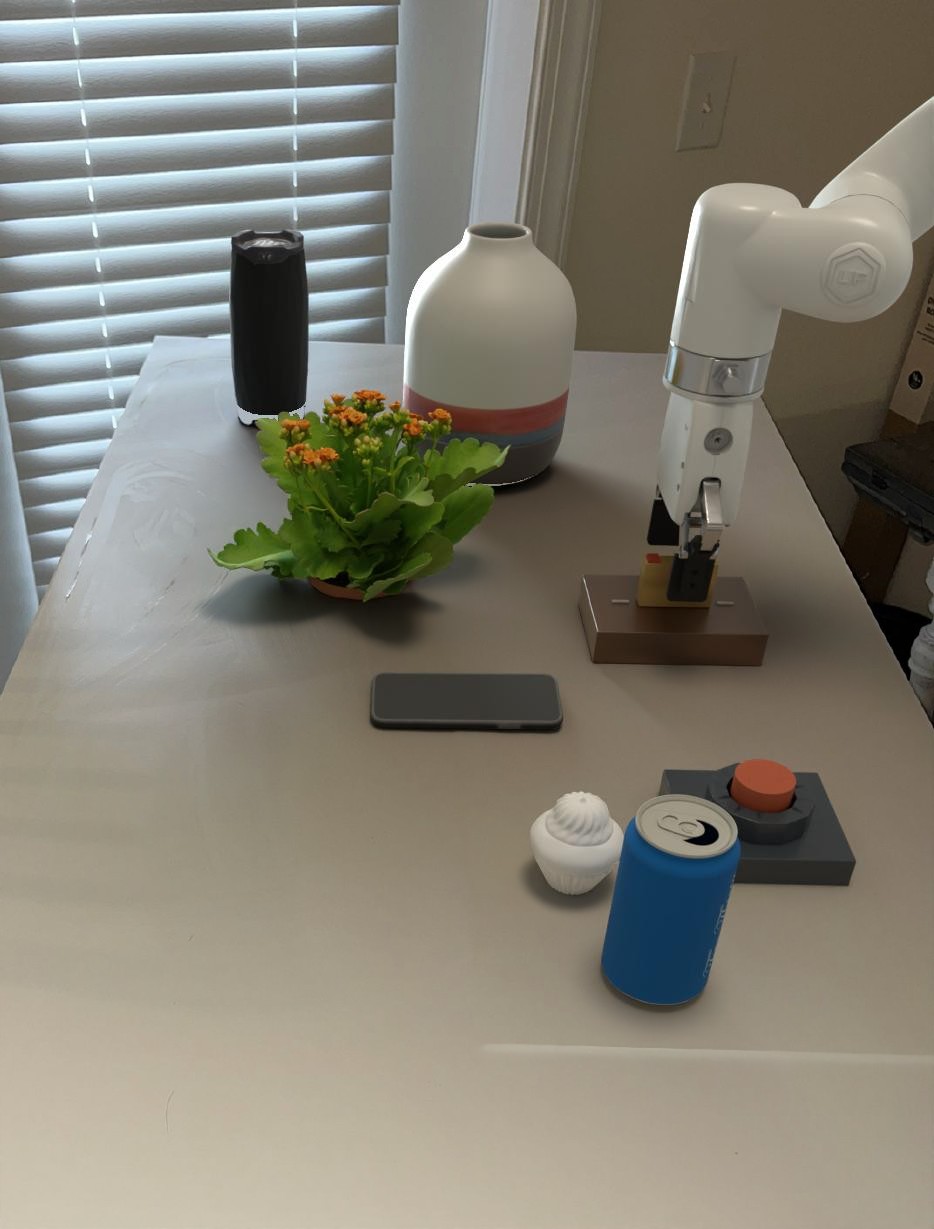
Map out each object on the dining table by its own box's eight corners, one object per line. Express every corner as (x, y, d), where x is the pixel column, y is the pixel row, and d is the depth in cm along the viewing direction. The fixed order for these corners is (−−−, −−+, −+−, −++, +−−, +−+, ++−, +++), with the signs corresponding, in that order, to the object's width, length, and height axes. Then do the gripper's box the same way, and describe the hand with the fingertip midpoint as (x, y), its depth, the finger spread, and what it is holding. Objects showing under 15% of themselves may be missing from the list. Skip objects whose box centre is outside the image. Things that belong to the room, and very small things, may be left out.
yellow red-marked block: (706, 598, 114) (715, 553, 111) (710, 607, 113) (719, 562, 110) (635, 597, 114) (643, 552, 112) (638, 606, 113) (646, 561, 110)
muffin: (515, 897, 89) (525, 814, 84) (535, 843, 93) (546, 761, 89) (608, 919, 87) (624, 835, 83) (624, 862, 91) (640, 780, 87)
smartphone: (371, 670, 109) (556, 672, 108) (371, 680, 110) (555, 681, 109) (370, 721, 104) (565, 723, 103) (370, 731, 104) (564, 733, 103)
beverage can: (684, 1029, 79) (723, 875, 72) (583, 987, 82) (610, 835, 75) (720, 964, 84) (760, 812, 76) (622, 927, 86) (652, 777, 79)
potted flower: (281, 503, 136) (279, 327, 125) (513, 531, 131) (532, 351, 120) (200, 622, 117) (188, 428, 106) (467, 660, 112) (484, 461, 101)
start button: (782, 779, 93) (788, 759, 92) (797, 815, 90) (803, 794, 89) (724, 778, 93) (729, 758, 92) (736, 814, 90) (742, 793, 89)
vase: (377, 483, 140) (385, 243, 125) (429, 425, 152) (442, 200, 137) (535, 510, 134) (563, 263, 120) (575, 448, 147) (605, 217, 132)
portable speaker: (309, 402, 157) (309, 224, 145) (306, 433, 150) (306, 249, 138) (236, 401, 158) (230, 223, 145) (230, 432, 150) (223, 248, 138)
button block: (810, 796, 97) (823, 751, 95) (848, 886, 89) (864, 840, 87) (658, 793, 98) (667, 748, 95) (682, 882, 90) (693, 836, 87)
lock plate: (736, 606, 119) (743, 574, 117) (761, 666, 111) (769, 632, 109) (578, 604, 120) (582, 572, 118) (592, 663, 112) (597, 629, 110)
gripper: (794, 411, 94) (742, 624, 105) (742, 329, 108) (700, 525, 118) (687, 409, 94) (646, 622, 105) (648, 327, 108) (615, 523, 119)
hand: (674, 571), depth 112 cm, fingers open, 9 cm apart
